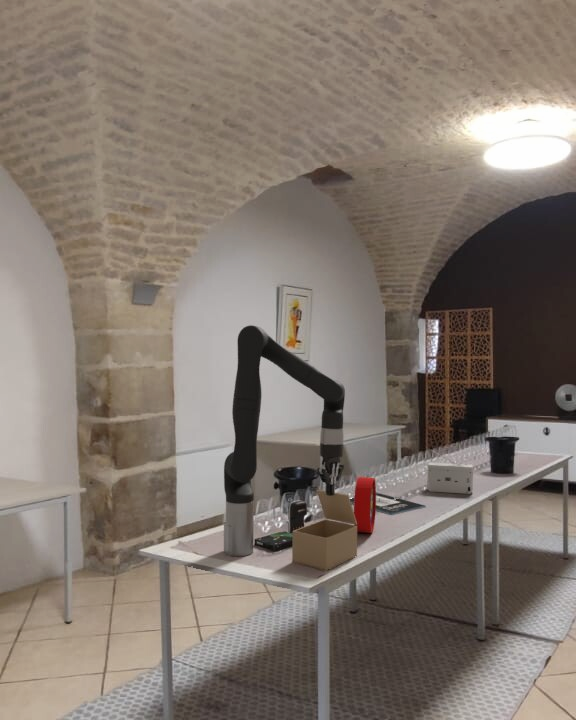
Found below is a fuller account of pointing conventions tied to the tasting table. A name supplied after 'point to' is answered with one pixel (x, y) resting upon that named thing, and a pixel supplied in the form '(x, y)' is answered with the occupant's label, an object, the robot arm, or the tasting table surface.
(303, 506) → the battery
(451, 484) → the stereo radio cassette player
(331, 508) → the carton flap
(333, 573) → the tasting table surface
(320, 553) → the carton
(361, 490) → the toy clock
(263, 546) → the disk drive
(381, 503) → the sketchbook
